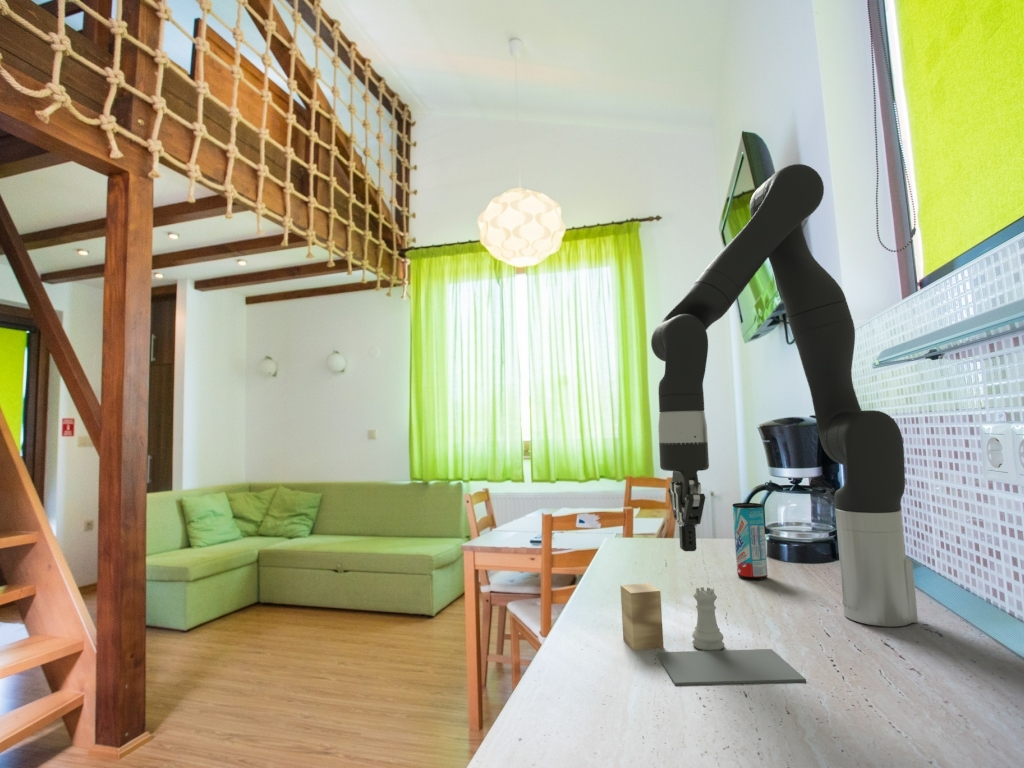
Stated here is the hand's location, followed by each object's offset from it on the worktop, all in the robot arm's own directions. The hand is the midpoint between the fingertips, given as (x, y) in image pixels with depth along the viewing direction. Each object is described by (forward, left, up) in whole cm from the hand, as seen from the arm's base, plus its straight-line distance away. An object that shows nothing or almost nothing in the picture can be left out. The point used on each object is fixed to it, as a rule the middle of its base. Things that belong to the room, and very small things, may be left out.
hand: (688, 550), depth 92 cm
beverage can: (-21, -31, -12) cm, 40 cm away
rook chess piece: (0, +7, -13) cm, 14 cm away
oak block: (+9, +5, -12) cm, 16 cm away
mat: (0, +14, -12) cm, 19 cm away
